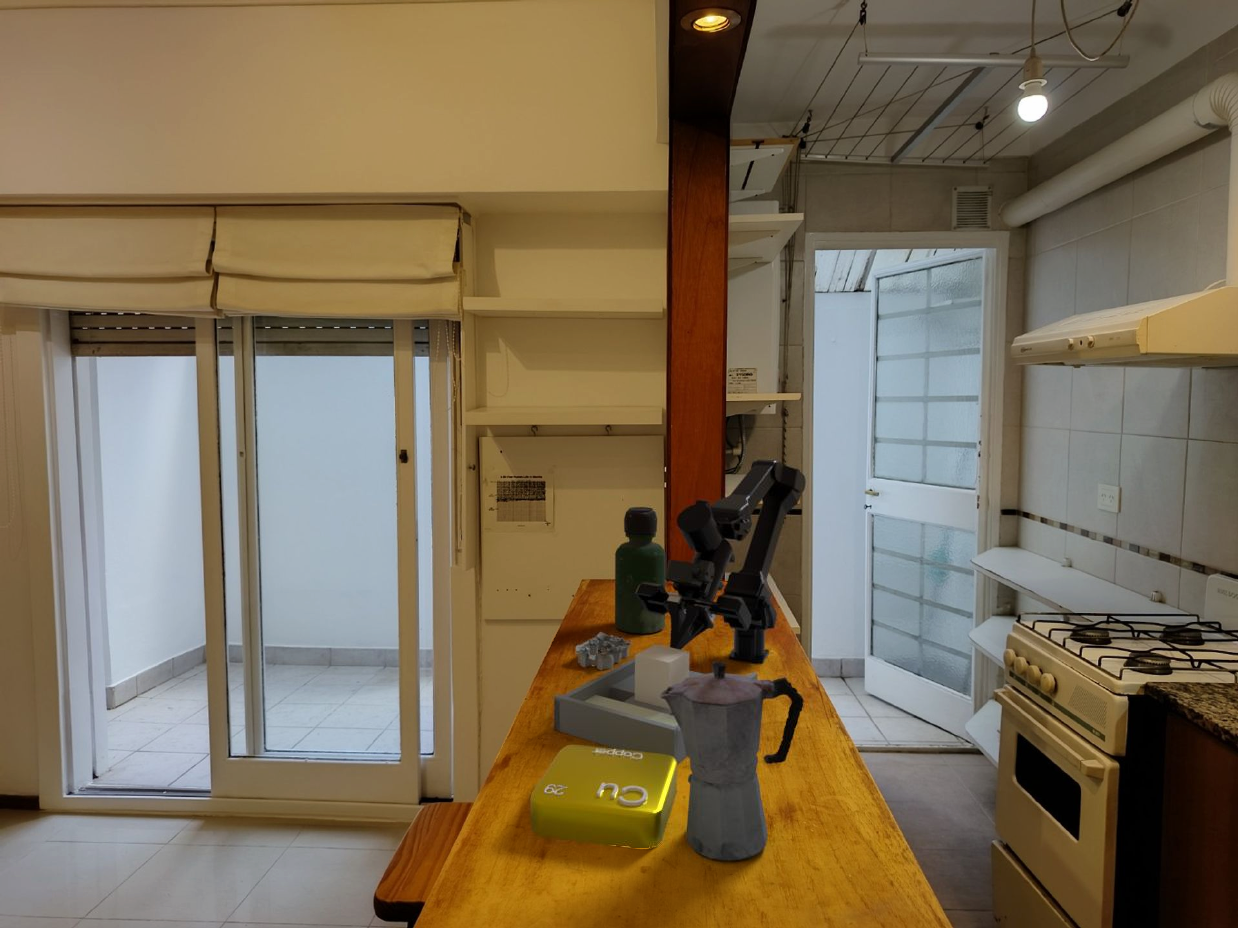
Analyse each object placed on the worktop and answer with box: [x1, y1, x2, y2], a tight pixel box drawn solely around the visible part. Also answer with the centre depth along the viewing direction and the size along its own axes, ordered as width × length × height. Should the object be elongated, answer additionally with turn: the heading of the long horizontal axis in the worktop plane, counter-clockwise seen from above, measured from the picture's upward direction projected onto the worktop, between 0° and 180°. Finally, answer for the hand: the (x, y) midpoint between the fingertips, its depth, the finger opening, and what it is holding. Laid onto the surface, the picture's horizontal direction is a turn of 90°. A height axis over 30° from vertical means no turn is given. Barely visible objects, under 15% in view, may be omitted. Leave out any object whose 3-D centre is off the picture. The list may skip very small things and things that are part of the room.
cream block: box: [634, 644, 690, 709], centre depth 119 cm, size 6×6×7 cm
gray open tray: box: [553, 657, 759, 765], centre depth 118 cm, size 26×20×5 cm
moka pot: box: [660, 661, 805, 862], centre depth 85 cm, size 10×15×20 cm, turn 95°
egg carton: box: [575, 631, 632, 671], centre depth 143 cm, size 11×8×4 cm
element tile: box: [530, 744, 678, 848], centre depth 92 cm, size 15×15×5 cm
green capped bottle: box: [614, 506, 667, 635], centre depth 162 cm, size 10×10×25 cm
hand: (673, 651), depth 121 cm, fingers closed
